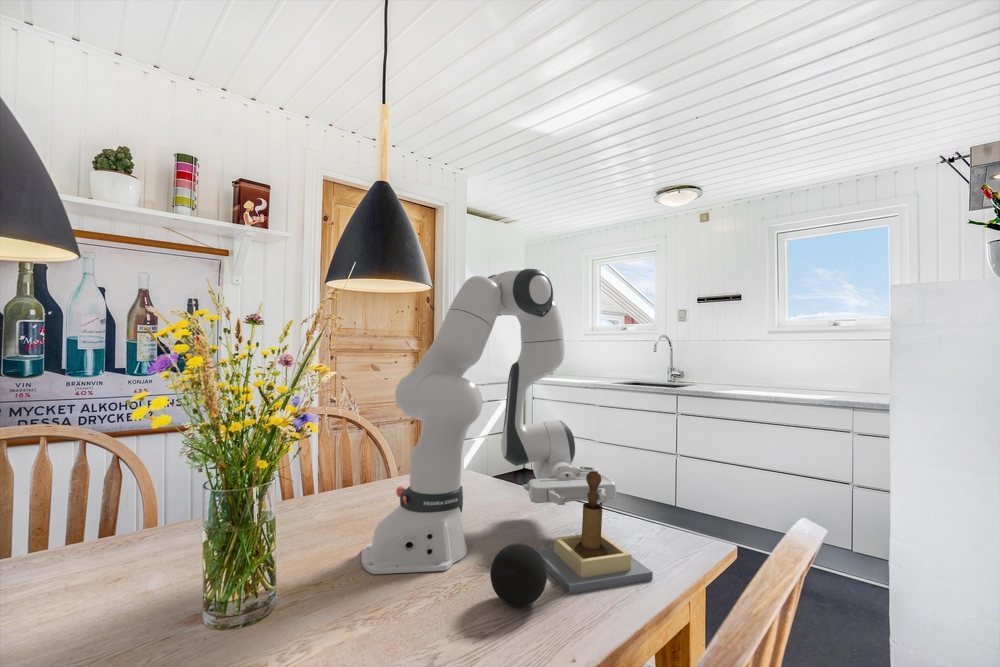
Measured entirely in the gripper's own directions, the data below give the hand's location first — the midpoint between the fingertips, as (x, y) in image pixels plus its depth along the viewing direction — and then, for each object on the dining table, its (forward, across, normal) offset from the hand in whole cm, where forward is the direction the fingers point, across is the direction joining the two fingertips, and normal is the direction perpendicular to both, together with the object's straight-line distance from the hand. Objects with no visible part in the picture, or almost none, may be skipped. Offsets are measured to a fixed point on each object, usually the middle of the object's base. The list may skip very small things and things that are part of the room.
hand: (582, 500), depth 106 cm
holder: (+5, 0, +12) cm, 13 cm away
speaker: (+16, -18, +12) cm, 27 cm away
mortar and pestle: (+5, 0, +11) cm, 12 cm away
